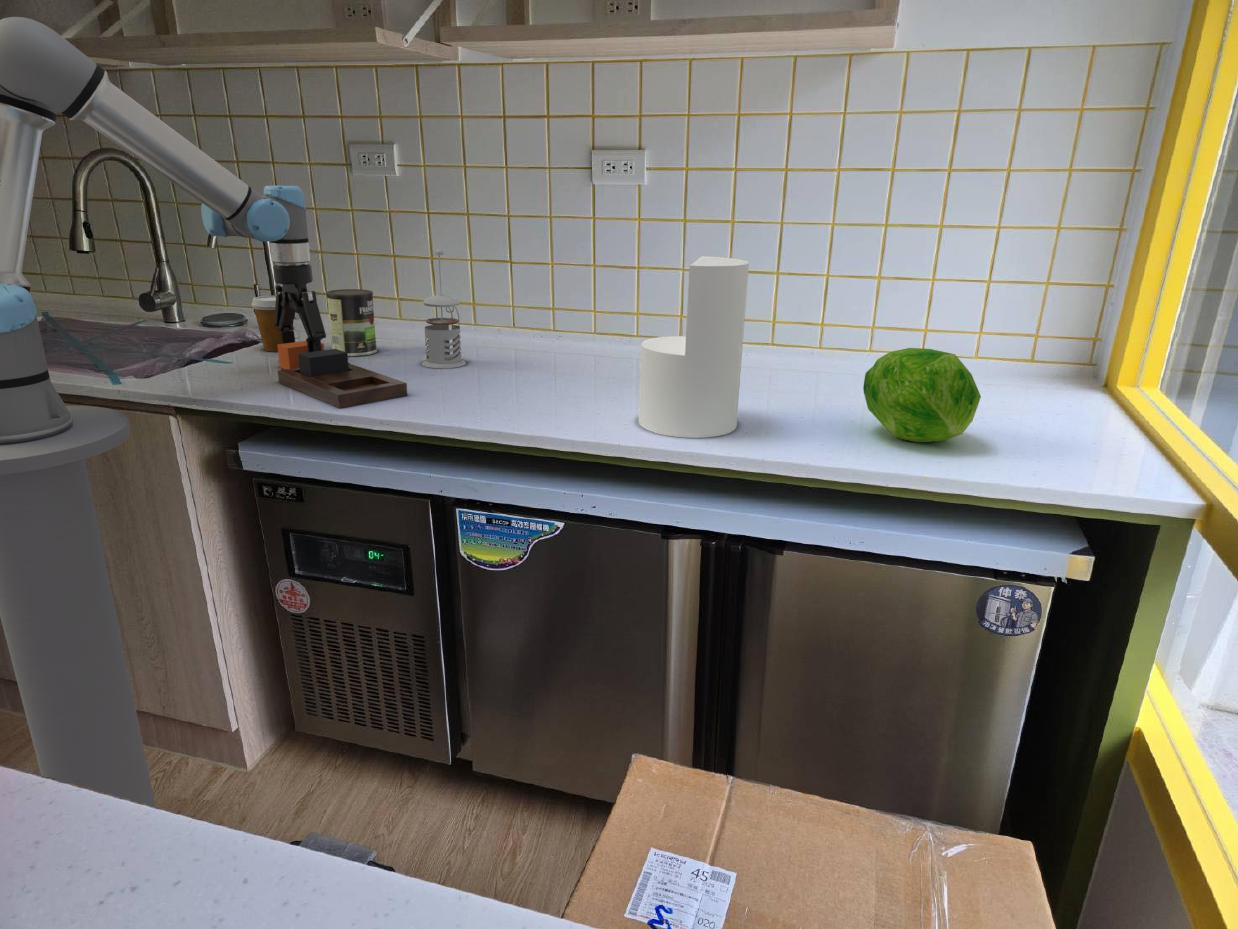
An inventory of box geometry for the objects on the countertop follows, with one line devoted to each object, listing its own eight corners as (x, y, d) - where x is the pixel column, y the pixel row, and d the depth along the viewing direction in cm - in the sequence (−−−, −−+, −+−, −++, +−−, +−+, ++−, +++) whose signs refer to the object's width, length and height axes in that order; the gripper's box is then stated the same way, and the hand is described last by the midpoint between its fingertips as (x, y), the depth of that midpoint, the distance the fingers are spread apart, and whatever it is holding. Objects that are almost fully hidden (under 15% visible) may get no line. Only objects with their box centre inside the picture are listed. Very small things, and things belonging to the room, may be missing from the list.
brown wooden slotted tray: (339, 408, 148) (338, 394, 147) (278, 382, 164) (277, 370, 164) (407, 395, 157) (406, 382, 157) (343, 372, 174) (342, 361, 173)
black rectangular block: (312, 382, 161) (309, 357, 159) (300, 378, 164) (297, 353, 162) (349, 376, 166) (347, 352, 165) (337, 372, 170) (335, 348, 168)
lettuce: (1000, 439, 139) (968, 354, 145) (981, 405, 122) (944, 311, 128) (902, 473, 146) (874, 391, 152) (870, 445, 130) (841, 354, 136)
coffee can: (384, 349, 197) (380, 289, 193) (364, 357, 188) (359, 295, 183) (344, 346, 199) (339, 287, 194) (323, 355, 189) (317, 293, 185)
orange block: (290, 371, 174) (287, 348, 172) (279, 367, 177) (277, 344, 175) (325, 366, 179) (323, 343, 177) (315, 362, 182) (312, 339, 181)
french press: (413, 366, 181) (406, 249, 173) (438, 356, 192) (432, 245, 183) (454, 369, 179) (449, 252, 170) (476, 359, 189) (473, 247, 181)
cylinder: (739, 414, 151) (751, 258, 142) (732, 441, 135) (745, 268, 126) (647, 406, 154) (653, 253, 145) (629, 432, 138) (635, 263, 129)
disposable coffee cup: (300, 344, 200) (295, 294, 196) (299, 352, 192) (293, 300, 188) (258, 345, 197) (252, 295, 193) (255, 353, 189) (248, 301, 185)
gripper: (336, 267, 165) (346, 372, 173) (284, 257, 181) (295, 354, 188) (300, 270, 160) (312, 378, 168) (249, 259, 176) (262, 358, 183)
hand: (303, 365), depth 178 cm, fingers open, 12 cm apart
